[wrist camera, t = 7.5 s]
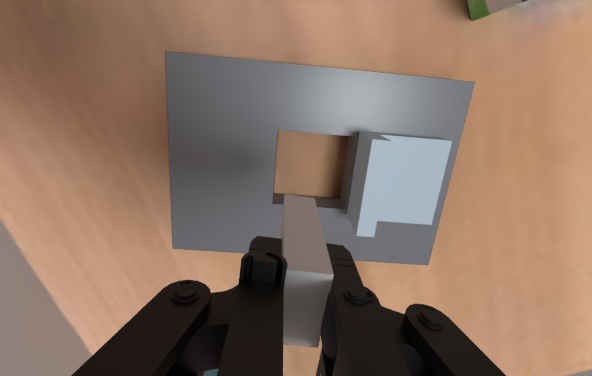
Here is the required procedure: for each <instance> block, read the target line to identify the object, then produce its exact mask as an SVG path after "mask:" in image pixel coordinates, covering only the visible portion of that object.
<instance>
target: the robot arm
mask: <svg viewBox="0 0 592 376" xmlns="http://www.w3.org/2000/svg"><path fill="white" fill-rule="evenodd" d="M320 336H321V340H322V350H321V355H320V359H319V364H318V368H317V372H316V376H320V374H321V376H506V375H505V374H504V373H503V372H502V371H501V370H500V369H499V368H498V367H497V366H496V365H495V364H494V363H493V362H492V361H491V360H490V359H489V358H488V357H487V356H486V355H485V354H484V353H483V352H482V351H481V350H480V349H479V348H478V347H477V346H476V345H475V344H474V343H473V342H472V341H471V340H470V339H469V338H468V337H467V336H466V335H465V334H464V333H463V332H462V331H461V330H460V329H459V328H458V327H457V326H456V325H455V324H454V323H453V322H452V321H451V320H450V319H449V318H448V317H447V316H446V315H445V314H443V313H442V312H441V311H439V310H437V309H435V308H433V307H431V306H428V305H424V304H413V305H410V306H409V307H408V308H407V309H406V312H405V314H402V313H399V312H396V311H393V310H390V309H387V308H385V307H383V306H381V305H380V302H379V300H378V298H377V297H376V295H375V294H374V293H373V292H372V291H371V290H369V289H368V288H366V287H364V286H363V284H362V281H361V278H360V276H359V273H358V271H357V268H356V265H355V263H354V261H353V258H352V255H351V252H350V251H348V250H347V249H346V248H345V247H344V246H343V245H336V244H328V243H326V242H325V238H324V234H323V230H322V226H321V222H320V218H319V214H318V210H317V206H316V202H315V198H310V197H302V196H295V195H287V194H285V196H284V203H283V210H282V216H281V223H280V230H279V237H278V238H272V237H263V236H257V237H255V238H254V239H253V240H252V241H251V243H250V247H249V251H248V253H246V254H244V256H243V257H242V259H241V268H240V278H239V284H238V285H237V286H235V287H234V288H232V289H230V290H227V291H223V292H216V293H211V292H210V289H209V288H208V287H207V286H206V285H205V284H203V283H201V282H199V281H193V280H183V281H177V282H174V283H171V284H169V285H168V286H166V287H165V288H163V289H162V290H161V291H160V292H159V293H158V294H157V295H156V296H155V297H154V298H153V299H152V300H151V301H150V302H149V303H148V304H146V305H145V306H144V307H143V308H142V309H141V310H140V311H139V312H138V313H137V314H136V315H135V316H134V317H133V318H132V319H131V320H130V321H129V322H127V323H126V324H125V325H124V326H123V327H122V328H121V329H120V330H119V331H118V332H117V333H116V334H115V335H114V336H113V337H112V338H111V339H110V340H109V341H107V342H106V343H105V344H104V345H103V346H102V347H101V348H100V349H99V350H98V351H97V352H96V353H95V354H94V355H93V356H92V357H91V358H90V359H88V360H87V361H86V362H85V363H84V364H83V365H82V366H81V367H80V368H79V369H78V370H77V371H76V372H75V373H74V374H73V375H72V376H203V375H204V372H205V371H209V370H214V369H218V372H217V376H283V344H286V345H296V346H307V347H317V348H318V345H319V340H320Z"/></svg>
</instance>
